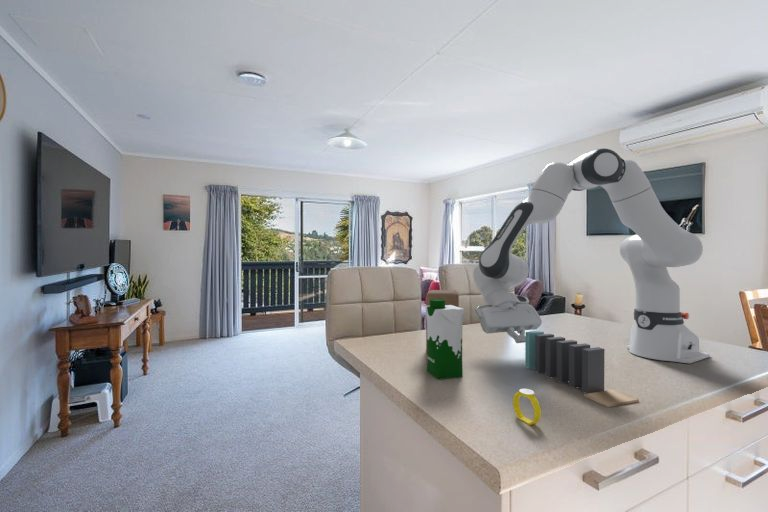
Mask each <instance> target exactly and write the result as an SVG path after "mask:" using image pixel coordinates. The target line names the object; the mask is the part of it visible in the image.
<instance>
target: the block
mask: <svg viewBox="0 0 768 512" xmlns="http://www.w3.org/2000/svg"><path fill="white" fill-rule="evenodd" d="M425 297H426V298H425V301H426V302H425V304H426V305H425V307H426V306H430V299H444V300H445V305H453V306H456V307H459V303H460V302H459V301H460V299H459V298H460V297H459V291H458V290H451V289H450V290H448V289H445V290H444V289H431V290H428V292H427V293H426V295H425ZM459 308H460V307H459ZM425 317H426V320H425V322H426V323H425V324H426V326H425V331H426V332H425V339H426V341H425V342H426V343H425V344H426V345H425V346H426V348H425V350H426V351H425V352H426V354H427V316H426V315H425Z"/></svg>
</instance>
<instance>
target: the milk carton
mask: <svg viewBox="0 0 768 512" xmlns="http://www.w3.org/2000/svg"><path fill="white" fill-rule="evenodd" d="M425 313H426V314H425V317H426V316H427V353H426V371H427V372H428V374H431V376H433V377H434V378H436V379H437V380H445V379H455V378H456V379H457V378H463V375H464V374H463V320H464V313H465V308H463V307H456V306H453V305H445V300H444V299H430V306H426V305H425Z"/></svg>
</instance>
